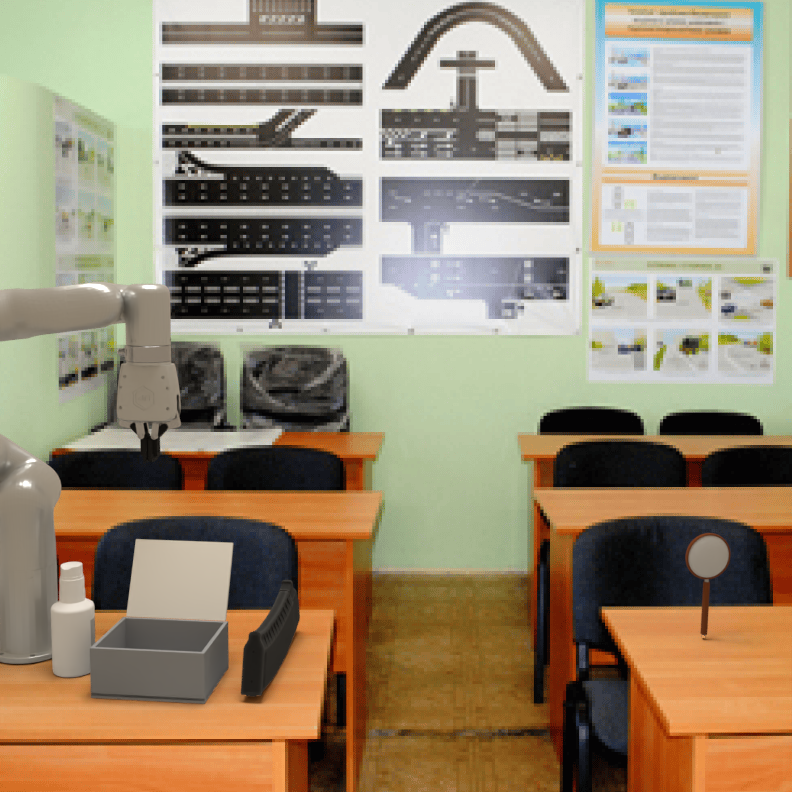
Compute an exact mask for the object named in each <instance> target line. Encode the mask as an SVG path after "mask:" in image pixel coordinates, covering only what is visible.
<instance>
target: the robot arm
mask: <svg viewBox="0 0 792 792" xmlns="http://www.w3.org/2000/svg"><path fill="white" fill-rule="evenodd" d="M171 318H172V317H171V292H170V289H169V287H168V286H167V285H165V284H161V283H131V284H120V283H113V282H107V281H94V282H93V281H92V282H86V283H85V282H84V283H76V284H68V285H60V286H50V287H42V288H41V287H40V288H19V287H18V288H7V289H6V288H5V289H0V343H2V342H8V341H17V340H27V339H31V338H34V337H38V336H44V335H45V336H46V335H53V334H62V333H69V332H78V331H87V330H95V329H102V328H106V327H108V326H111V325H117V324H118V325H119V324H125V345H124V347H123V348H118V350H117V354H118V357H122V358H124V361H125V363H121V364H120V367H119V368H120V369H119V374H118V375H119V376H118V382H117V383H118V384H117V393H116V394H117V395H116V416H117V419H119V420H118V425H119V426H120V427H122V428H125V429H130V430H132V431H133V433H135V435H136V437H137V438H138V439H139V440H140V441H139V443H140V445H139V446H140V456H141V457H142V462H143V463H147V462H148V463H155V462H156V461H157V460H158V459H159V457H160V455H161V437H163V435H164V434H165V433H167V431H169V430H173V429H177V428H180V427H181V426H182V422H181V419H180V418H181V417H180V416H181V410H182V409H181V407H182V405H181V404H182V403H181V393H180V385H179V378H178V372H177V367H176V363H172V337H171V336H172V333H171V331H172V329H171V327H172V326H171ZM149 423H151V431H150V428H149ZM61 493H62V482H61V479H60V477H59V474H58V473H57V472H56V471H55V470H54V468H52V467H51V466H50V465H48V463H46V462H45V461H43V460H41V459H40V458H39V457H37V456H35V455H34V454H32V453H31V452H30V451H28V450H26V449H25V448H23V447H21V446H20V445H19V444H18V443H16V442H14V441H12V440H11V439H9V438H8V437H6V436H5V435H3V434H2V433H0V663H4V664H14V665H15V664H16V665H17V664H18V665H19V664H20V665H22V664H23V665H25V664H32V663H39V662H44V661H47V660H50V659H51V660H52V635H51V607H52V605H53V604H54V603H56V602H57V601H59V600H58V599H59V595H58V594H59V591H58V565H57V563H58V561H57V541H56V531H55V517H54V516H55V514H54V513H55V508H56V505H57V503H58V501H59V499H60V497H61Z"/></svg>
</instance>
